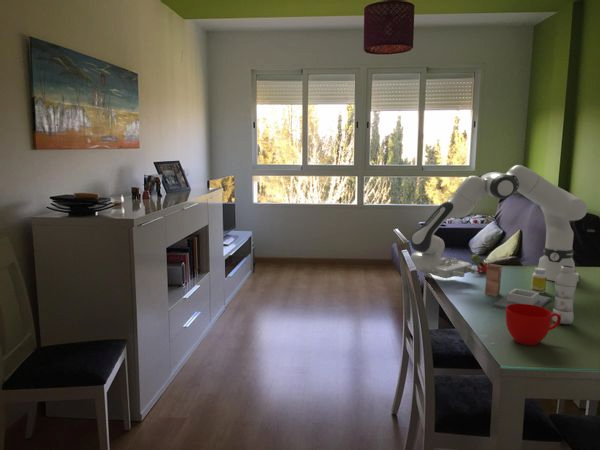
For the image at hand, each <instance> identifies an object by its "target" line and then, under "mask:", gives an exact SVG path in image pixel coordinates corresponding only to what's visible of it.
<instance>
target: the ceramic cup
mask: <svg viewBox="0 0 600 450" xmlns="http://www.w3.org/2000/svg"><path fill="white" fill-rule="evenodd" d="M553 316H557V318H558V319H557V321H556V322H554V324H551V323H552V321H553V319H552V317H553ZM505 321H506V322H505V323H506V327H507V330H508V332H509V334H510V336H511V337H512V338H513V339H514V341H515V342H517V343H518V344H521V345H524V346H525V345H527V346H536V345H538V344H539V343H540V342H542V341H543V340H544V339H545V338H546V337H547V335H548V333H549V331H551V330H554V329H555V328H557V327H558V326H559V325H560V321H561V317H560V315H559V314H557V313H552V311H551V310H550V309H548V308H545V307H543V306H542V307H539V306H535V305H528V304H511V305H508V306H507V307H506V309H505Z"/></svg>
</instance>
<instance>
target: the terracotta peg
mask: <svg viewBox="0 0 600 450" xmlns="http://www.w3.org/2000/svg"><path fill="white" fill-rule="evenodd" d="M502 268H503V265H499V264H494V263H490V264H487V272H486V275H485V276H486V277H485V278H486V279H485V288H484V289H485V290H484V291H485V292H484V294H485V295H488V296H493V297H497V296H499V295H500V294H501V293H500V292H501V280H502V270H503V269H502Z"/></svg>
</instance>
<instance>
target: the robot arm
mask: <svg viewBox="0 0 600 450" xmlns="http://www.w3.org/2000/svg"><path fill="white" fill-rule="evenodd" d="M515 192H518V193H519V194H520V195H523V196H524V197H525V198H527V199H528V200H530V201H531V202H532V203H534V204H536V205H538V206H539V207H540V211H541V212H542V213H543V217H544V218H543V219H544V222H545V229H546V231H545V243H544V244H545V246H544V247H543V256H541V257H540V258H539V261H538V267H537V268H543V269H545V273H544V274H545V275H546V281H552V282H555V279H556V277H557V276H558V275H559V274H560V273H561V271H560V270H561V266H562V265H567V266H572V267H574V269H573V271H574V272H573V273H572V274H573V276H574V277H575V279H576V282H577V283H579V278H580V277H579V272H577V270H576V269H575V267H576V266H575V264H576V263H575V261H574V258H573V257H574V250H573V243H574V236H575V235H574V230H573V229H572V226H571V224H570V221H572V222H573V221H579V220H582V219H583V218H584V217H585V216H586V215H587V212H588V205H587V202H586V201H585V200H584V199H582V198H579V197H578V196H576V195H574V194H572V193H571V192H569V191H566V190H565V189H563V188H561V187H559V186H557V185H555V184H554V183H553V182H550V181H548V179H545V177H543V176H541V175H540V174H539V173H537V172H535V171H534V170H533V169H530V168H529V167H526V166H524V165H522V164H515V165H513V166H512V167H510V168H509V169H508V171H507V172H506V173H505V172H504V173H502V172H499V171H495V170H489V171H486V172H483V173H482V174H481V175H479V176H478V175H469V176H467V177H466V178H465V179H464V180H463V181H462V183H460V184H459V186H458V187H457V188H456V189H455V191H454V193H453V194H452V195H451V196H450V197H449V198H448V199H447V200H446V201H444V202H443V203H441V204H440V205H439V206H438V207H437V208H436V209H435V210H434V212H433V213H432V214H431V215H430V216H429V217H428V218H427V220H425V222H424V223H423V224H422V225H421V226H420V227H418V229H416V230H415V231H414V232H413V233H412V235H411V237H410V246H411V248H412V249H413V250H415V252H413V253H411V255H410V257H411V258H412V260H413V263H414V264H415V266H416V269H417V270H416V271H417V272H420V273H424V274H431V275H432V276H435V277H439V278H442V279H449V278H453V277H454V278H456V277H458V278H459V277H460V278H464V277H465V274H468V273H470V274H473V275H474V274H478V272H477V270H478V269H477V268H475V269H474V268H473V264H472V263H471V262H467V261H463V260H459V259H457V258H456V257H443V254H444V251H445V248H446V247H445V246H446V244H445V241H444V239H443V238H440V236H437V235H436V234H435V233H436V232H437V230H438V229H439V228H440V227H441V226H442V224H443V223H444V222H445V221H447V220H448V219H451V218H452V219H453V218H464V217H467V216H469V214H470V213H472V212H473V210H474V209H475V207H476V206H477V204H478V203H479V202H480V200H481V199H482V198H483V197H485V196H486V195H487V196H490V197H493V198H496V199H501V200H503V199H508V198H509V197H511V196H513V194H514V193H515ZM533 273H535V271H534V272H533Z"/></svg>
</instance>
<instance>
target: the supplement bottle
mask: <svg viewBox="0 0 600 450" xmlns="http://www.w3.org/2000/svg"><path fill="white" fill-rule="evenodd" d="M534 272H535V273H534ZM534 272H533V273H532V275H531V282H530V283H531V284H530V291H531V292H537V293H539V294H544V293H545V292H546V284H547V279H546V275H545V274H544V273H545V269H543V268H538V267H535V268H534Z"/></svg>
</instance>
